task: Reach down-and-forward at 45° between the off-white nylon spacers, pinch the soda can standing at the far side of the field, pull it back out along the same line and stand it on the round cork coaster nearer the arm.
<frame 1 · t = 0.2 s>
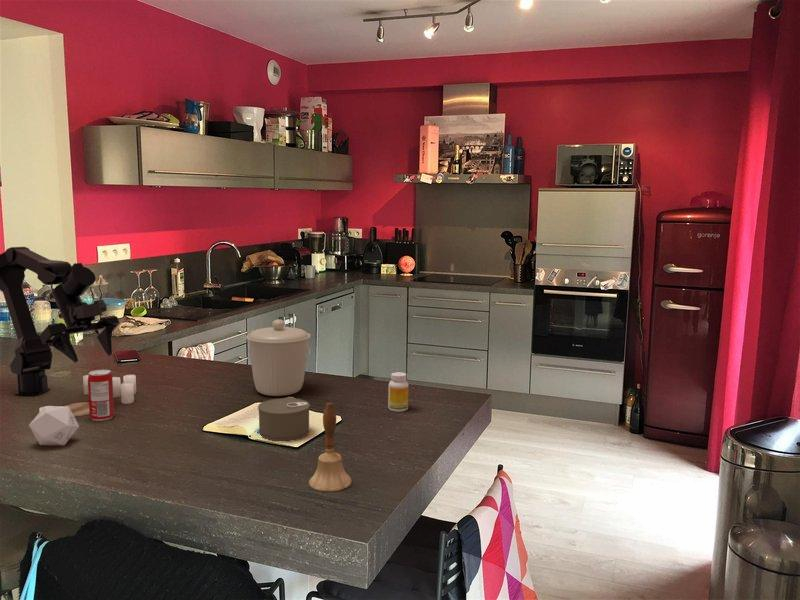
hand: (93, 358, 166), 14 cm above the counter, tool tilted 35°, fingers open, 9 cm apart
soda can: (102, 418, 163), on the counter
coaster: (80, 410, 169), on the counter
can: (284, 434, 155), on the counter
supplement bottle: (398, 409, 174), on the counter
die: (55, 443, 146), on the counter
canister: (279, 392, 189), on the counter
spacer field: (93, 404, 174), on the counter
hand bell: (330, 483, 127), on the counter
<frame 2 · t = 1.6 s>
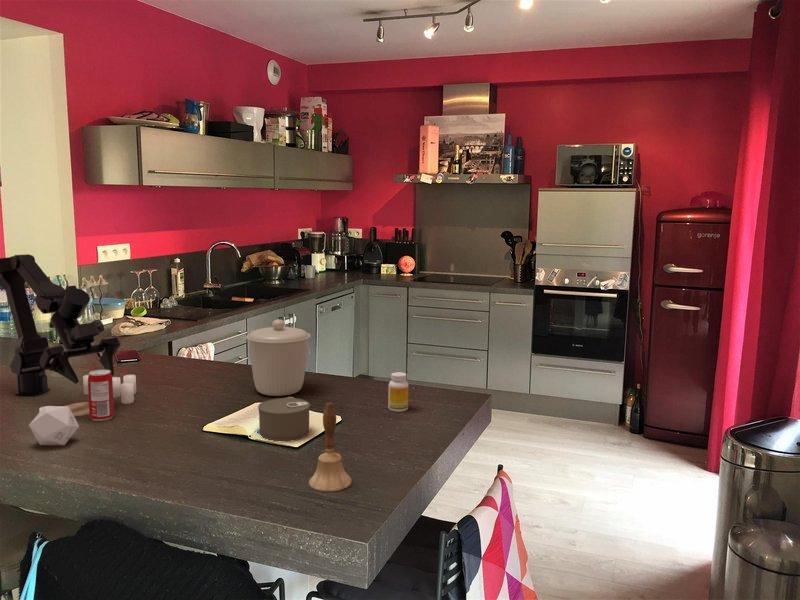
hand: (95, 378, 163), 10 cm above the counter, tool tilted 45°, fingers open, 9 cm apart
nothing on the counter moved.
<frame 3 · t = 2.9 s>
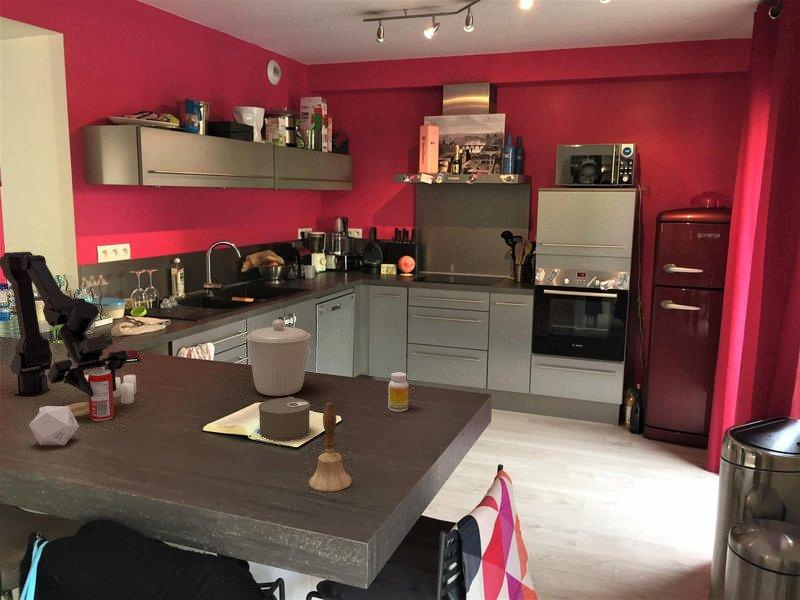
hand: (103, 393, 161), 7 cm above the counter, tool tilted 45°, fingers closed on soda can, 5 cm apart
soda can: (102, 418, 163), on the counter, touching gripper
everything else where it was.
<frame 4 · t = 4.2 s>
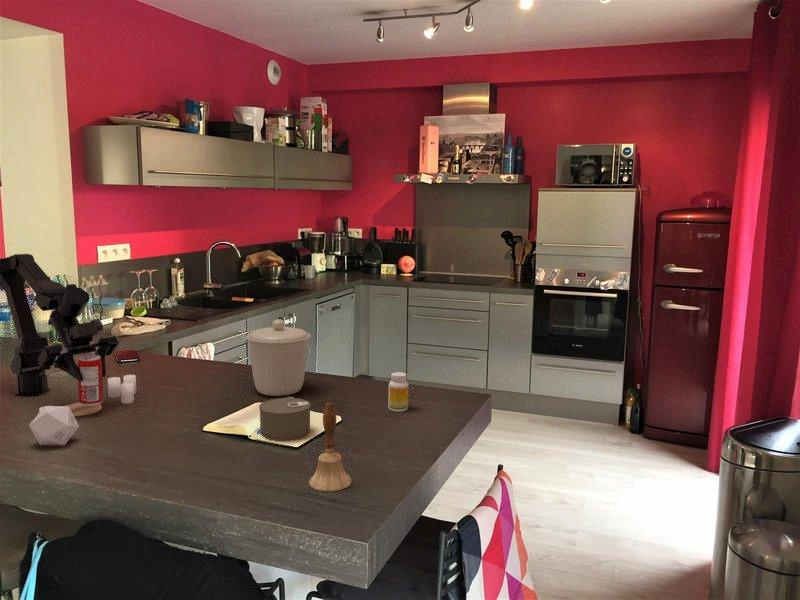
hand: (93, 378, 164), 10 cm above the counter, tool tilted 45°, fingers closed on soda can, 5 cm apart
soda can: (91, 403, 165), point 3 cm above the counter, touching gripper
everything else where it was.
when the fingers open (8 cm above the counter, at t = 5.4 s): soda can stays where it is, resting on coaster.
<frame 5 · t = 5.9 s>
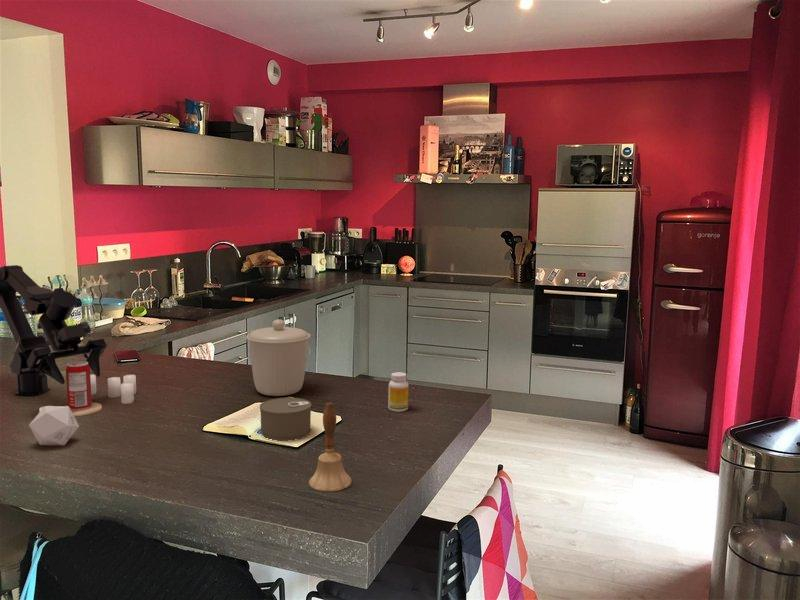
hand: (81, 379, 167), 8 cm above the counter, tool tilted 45°, fingers open, 9 cm apart
soda can: (80, 408, 169), resting on coaster
everything else where it was.
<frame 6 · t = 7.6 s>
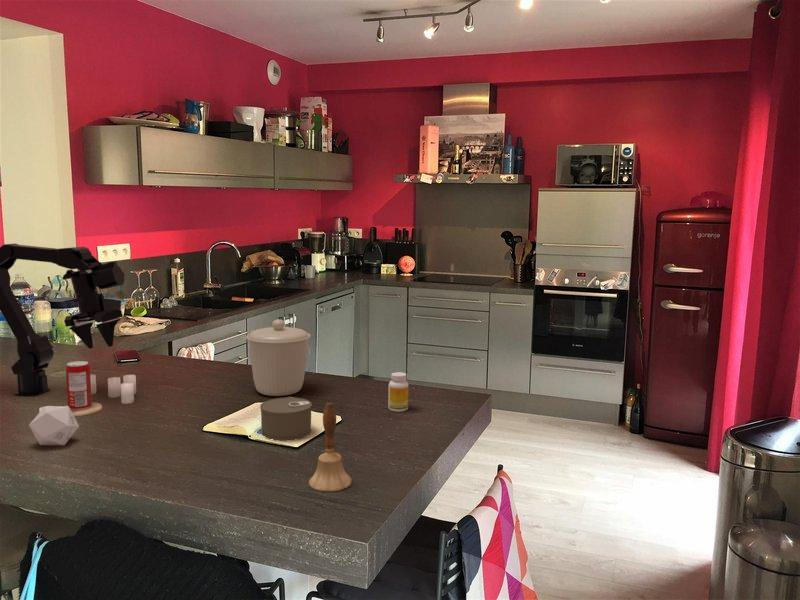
hand: (100, 347, 181), 13 cm above the counter, tool pointing down, fingers open, 9 cm apart
nothing on the counter moved.
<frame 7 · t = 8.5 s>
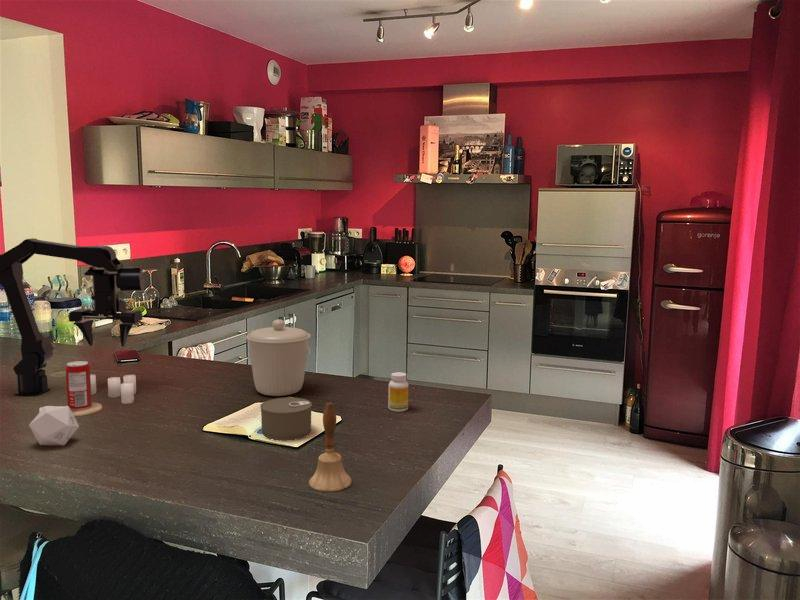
hand: (107, 346, 185), 13 cm above the counter, tool pointing down, fingers open, 9 cm apart
nothing on the counter moved.
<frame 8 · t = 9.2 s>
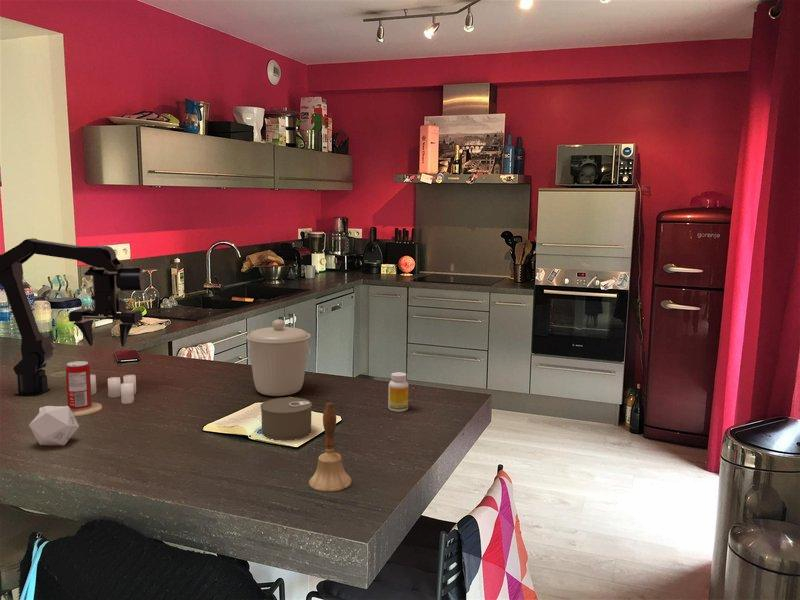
hand: (107, 346, 185), 13 cm above the counter, tool pointing down, fingers open, 9 cm apart
nothing on the counter moved.
at the end: soda can 0.2 cm from the coaster (horizontally); soda can tilted 0°; the gripper is holding nothing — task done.
